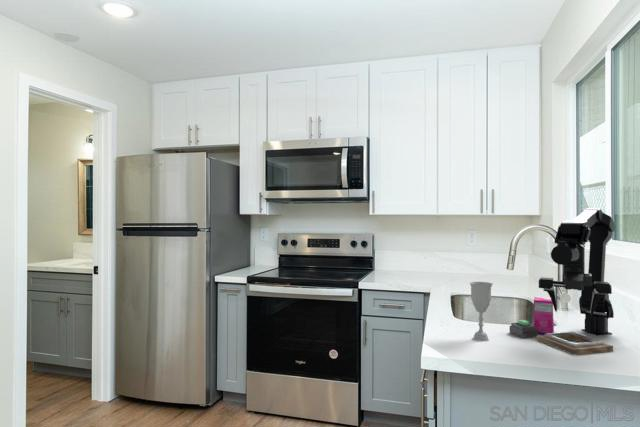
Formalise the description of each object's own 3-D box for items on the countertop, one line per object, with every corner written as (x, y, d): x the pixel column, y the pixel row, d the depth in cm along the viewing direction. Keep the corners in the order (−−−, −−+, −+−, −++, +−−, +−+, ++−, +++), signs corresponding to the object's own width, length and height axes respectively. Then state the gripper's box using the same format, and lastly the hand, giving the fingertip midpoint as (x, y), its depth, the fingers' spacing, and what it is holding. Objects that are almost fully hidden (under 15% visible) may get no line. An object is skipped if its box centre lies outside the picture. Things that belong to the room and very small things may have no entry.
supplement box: (534, 329, 143) (534, 296, 143) (554, 331, 140) (554, 298, 140) (533, 333, 138) (533, 299, 138) (553, 336, 135) (553, 301, 135)
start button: (524, 323, 138) (524, 319, 138) (531, 325, 135) (531, 322, 135) (515, 323, 137) (515, 320, 137) (522, 326, 134) (522, 322, 134)
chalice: (484, 344, 126) (484, 286, 126) (464, 338, 132) (464, 283, 132) (497, 340, 130) (497, 283, 131) (478, 335, 136) (478, 281, 136)
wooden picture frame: (572, 337, 134) (572, 329, 134) (613, 351, 120) (613, 342, 120) (537, 340, 130) (537, 332, 130) (574, 354, 117) (574, 346, 117)
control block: (524, 331, 140) (524, 321, 140) (537, 336, 134) (537, 326, 134) (509, 333, 138) (509, 322, 138) (522, 338, 133) (522, 327, 133)
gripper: (537, 263, 123) (537, 314, 123) (613, 267, 114) (613, 323, 114) (539, 259, 133) (539, 307, 133) (609, 263, 123) (609, 315, 123)
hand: (573, 313), depth 125 cm, fingers open, 9 cm apart
